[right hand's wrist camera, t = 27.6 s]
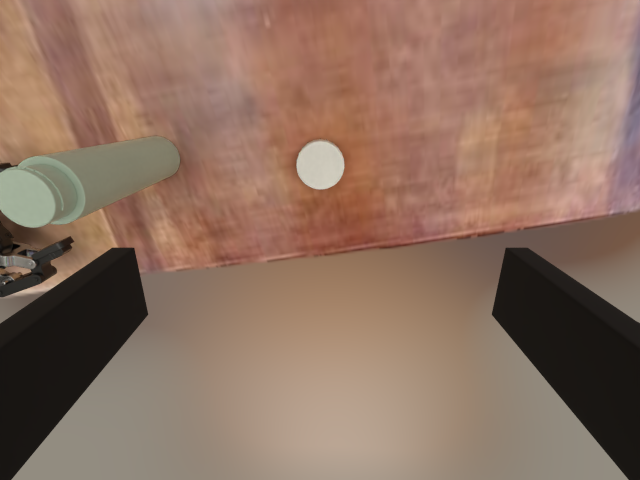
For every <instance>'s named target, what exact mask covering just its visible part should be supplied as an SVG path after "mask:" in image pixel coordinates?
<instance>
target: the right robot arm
mask: <svg viewBox="0 0 640 480" xmlns="http://www.w3.org/2000/svg"><path fill="white" fill-rule="evenodd" d="M147 315H148V311H147V307H146V302H145V297H144V293H143V288H142V283H141V278H140V273H139V269H138V264H137V259H136V254H135V250H134V248H111V249H110V250H108V251H107V252H106V253H104V254H103V255H101V256H100V257H98V258H97V259H95V260H94V261H92V262H91V263H89V264H88V265H86V266H85V267H83V268H82V269H80V270H79V271H77V272H76V273H74V274H73V275H71V276H70V277H69V278H67V279H66V280H64V281H63V282H61V283H60V284H58V285H57V286H55V287H54V288H52V289H51V290H49V291H48V292H46V293H45V294H43V295H42V296H41V297H39V298H38V299H36V300H35V301H33V302H32V303H30V304H29V305H27V306H26V307H24V308H23V309H21V310H20V311H18V312H17V313H15V314H14V315H12V316H11V317H9V318H8V319H6V320H5V321H3V322H2V323H1V324H0V480H11V479H12V478H13V477H14V476H15V474H16V473H17V472H18V471H19V470H20V468H21V467H22V466H23V465H24V464H25V462H26V461H27V460H28V459H29V458H30V456H31V455H32V454H33V453H34V452H35V450H36V449H37V448H38V447H39V446H40V444H41V443H42V442H43V441H44V440H45V438H46V437H47V436H48V435H49V434H50V432H51V431H52V430H53V429H54V427H55V426H56V425H57V424H58V423H59V421H60V420H61V419H62V418H63V417H64V415H65V414H66V413H67V412H68V411H69V409H70V408H71V407H72V406H73V405H74V403H75V402H76V401H77V400H78V399H79V397H80V396H81V395H82V394H83V393H84V391H85V390H86V389H87V388H88V387H89V385H90V384H91V383H92V382H93V380H94V379H95V378H96V377H97V376H98V374H99V373H100V372H101V371H102V370H103V368H104V367H105V366H106V365H107V364H108V362H109V361H110V360H111V359H112V358H113V356H114V355H115V354H116V353H117V352H118V350H119V349H120V348H121V347H122V346H123V344H124V343H125V342H126V341H127V339H128V338H129V337H130V336H131V335H132V333H133V332H134V331H135V330H136V329H137V327H138V326H139V325H140V324H141V323H142V321H143V320H144V319H145V318H146V316H147ZM492 315H493V317H494V318H495V319H496V320H497V321H498V323H499V324H500V325H501V326H502V327H503V329H504V330H505V331H506V332H507V333H508V335H509V336H510V337H511V338H512V339H513V341H514V342H515V343H516V344H517V345H518V347H519V348H520V349H521V350H522V352H523V353H524V354H525V355H526V356H527V357H528V359H529V360H530V361H531V362H532V364H533V365H534V366H535V367H536V368H537V370H538V371H539V372H540V373H541V374H542V376H543V377H544V378H545V379H546V380H547V382H548V383H549V384H550V385H551V387H552V388H553V389H554V390H555V391H556V393H557V394H558V395H559V396H560V397H561V399H562V400H563V401H564V402H565V403H566V405H567V406H568V407H569V408H570V409H571V411H572V412H573V413H574V414H575V415H576V417H577V418H578V419H579V420H580V421H581V423H582V424H583V425H584V426H585V427H586V429H587V430H588V431H589V432H590V433H591V435H592V436H593V437H594V438H595V440H596V441H597V442H598V443H599V444H600V446H601V447H602V448H603V449H604V450H605V452H606V453H607V454H608V455H609V456H610V458H611V459H612V460H613V461H614V462H615V464H616V465H617V466H618V467H619V468H620V470H621V471H622V472H623V473H624V475H625V476H626V477H627V478H628V479H629V480H640V323H639V322H636V321H635V320H633V319H632V318H630V317H629V316H628V315H626V314H625V313H623V312H622V311H620V310H619V309H617V308H616V307H614V306H613V305H611V304H610V303H608V302H607V301H605V300H604V299H602V298H601V297H600V296H598V295H597V294H595V293H594V292H592V291H591V290H589V289H588V288H586V287H585V286H583V285H582V284H580V283H579V282H577V281H576V280H574V279H573V278H571V277H570V276H568V275H567V274H566V273H564V272H563V271H561V270H560V269H558V268H557V267H555V266H554V265H552V264H551V263H549V262H548V261H546V260H545V259H543V258H542V257H540V256H539V255H537V254H536V253H534V252H533V251H531V250H530V249H529V248H506V250H505V254H504V259H503V264H502V269H501V273H500V278H499V283H498V288H497V293H496V297H495V302H494V307H493V311H492Z"/></svg>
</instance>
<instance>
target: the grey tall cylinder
mask: <svg viewBox="0 0 640 480" xmlns="http://www.w3.org/2000/svg"><path fill="white" fill-rule="evenodd" d="M179 165H180V156H179V152H178V150H177V148H176V147H175V145H174V144H173V143H172V142H171V141H169V140H168V139H166V138H164V137H160V136H150V137H145V138H139V139H133V140H127V141H121V142H115V143H110V144H104V145H98V146H92V147H86V148H81V149H75V150H69V151H63V152H57V153H51V154H46V155H40V156H34V157H30V158H27V159H25V160H24V161H22V162H21V163H20V164H19V165H18V166H16V167H11V168H7V169H6V170H4V171H3V172H1V173H0V210H1V211H2V213H3V214H4V215H5V216H6V217H8V218H9V219H10V220H12V221H13V222H15V223H17V224H19V225H22V226H25V227H31V228H37V227H42V226H45V225H47V224H49V223H50V224H56V225H62V224H67V223H71V222H73V221H75V220H77V219H79V218H81V217H84V216H86V215H88V214H90V213H92V212H94V211H97V210H99V209H101V208H103V207H105V206H107V205H110V204H112V203H114V202H116V201H118V200H120V199H123V198H125V197H127V196H129V195H131V194H133V193H136V192H138V191H140V190H142V189H144V188H146V187H149V186H151V185H153V184H155V183H157V182H159V181H162V180H164V179H166V178H168V177H170V176H172V175H174V174H175V173H176V172H177V170H178V168H179Z"/></svg>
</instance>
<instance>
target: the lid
mask: <svg viewBox="0 0 640 480" xmlns="http://www.w3.org/2000/svg"><path fill="white" fill-rule="evenodd" d="M298 155H299V156H298V158H297V160H296V161H297V166H296V168H297V172H298V175H299V177H300V178H301V180H302V181H303V182H304V183H305V184H306V185H307V186H309V187H311V188H314V189H327V188H330V187H332V186H333V185H335V184H336V183H337V182H338V181H339V180H340V178H341V177H342V174H343V171H344V167H345V166H344V158H343V156H342V152H340V150H339V148H338V146H336V145H335V144H333V142H330V141H327V139H326V140H323V139H318V140H313V141H311V142H309V143H307V144H306V145H305V146H304V147H302V150H301V152H299V154H298Z"/></svg>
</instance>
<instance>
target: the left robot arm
mask: <svg viewBox="0 0 640 480" xmlns="http://www.w3.org/2000/svg"><path fill="white" fill-rule="evenodd" d="M16 166H18V165H15V166H12V165H11V164H10V163H1V164H0V173H1V172H3V171H4V170H6V169H7V168H11V167H16ZM12 238H14V237H13V236H12V234H11V233H10V232H9V231H8V230H7V229H6V228H4V227H3V226H2V224H1V222H0V297H5V296H8V295H10V294H13V293H16V292H19V291H22V290H24V289H27V288H30V287H33V286H36V285H38V284H40V283H42V282H44V281H45V280H47V279H48V278H50V277H52V276H53V275H55V274H56V273H57V269H56V268H55V267H54V266H51V260H53V259H55V258H57V257H59V256H62V255H63V254H65V253H67V252H69V251H70V250H71V249H72V246H71V245H70V244H71V243H73V242H74V240H73V239H72V238H71V236H70V237H68V238H65V239H63V240H61V241H59V242H57V243H55V244H52V245H50V246H48V247H46V248H44V249H42V250H41V249H37V248H32V247H31V245H29V244H24V243H20V242H15V241H12ZM9 266H19V267H23V268H28V269H31V272H30V273H27V274H24V275H22V273H20V272H19V273H15V272H12V273H9V272H7V271H5V270H4V269H5V268H6V267H9Z"/></svg>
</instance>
